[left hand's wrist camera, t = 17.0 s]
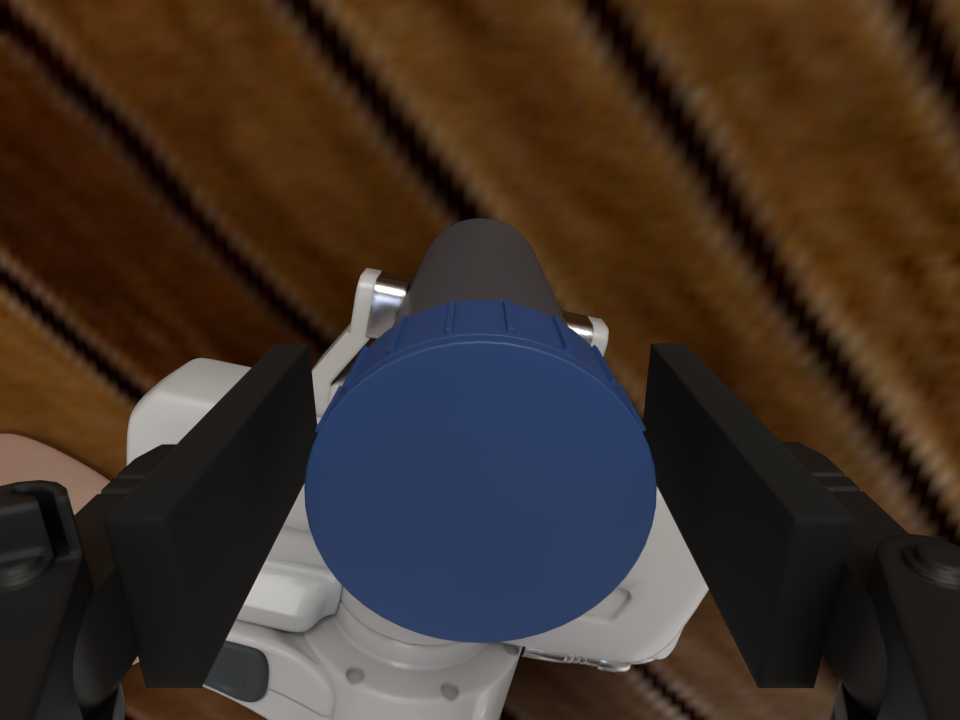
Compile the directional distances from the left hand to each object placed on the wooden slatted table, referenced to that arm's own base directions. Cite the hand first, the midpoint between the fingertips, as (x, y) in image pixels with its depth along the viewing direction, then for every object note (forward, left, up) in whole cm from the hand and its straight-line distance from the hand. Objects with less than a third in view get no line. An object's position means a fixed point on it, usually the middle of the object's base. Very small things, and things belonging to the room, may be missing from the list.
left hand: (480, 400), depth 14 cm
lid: (0, 0, +4) cm, 4 cm away
